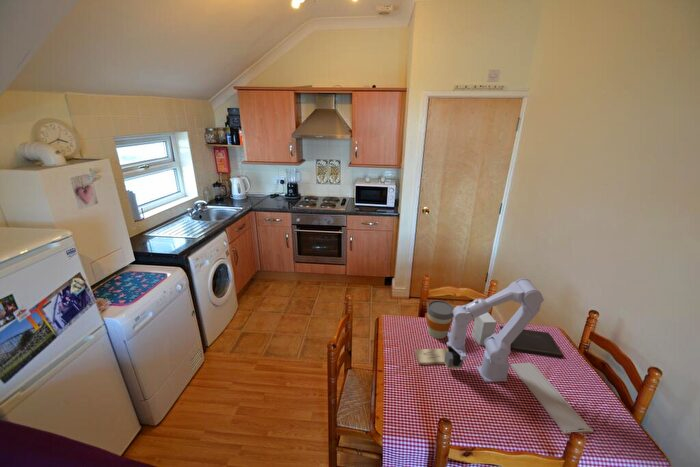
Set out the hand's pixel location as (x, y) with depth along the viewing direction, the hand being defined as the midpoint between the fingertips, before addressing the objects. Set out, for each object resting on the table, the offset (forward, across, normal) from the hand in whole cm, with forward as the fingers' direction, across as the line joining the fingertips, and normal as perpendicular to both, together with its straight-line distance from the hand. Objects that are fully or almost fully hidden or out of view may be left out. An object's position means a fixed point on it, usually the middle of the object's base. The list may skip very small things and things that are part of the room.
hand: (453, 361), depth 125 cm
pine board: (+5, -8, -5) cm, 10 cm away
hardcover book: (+6, -15, +44) cm, 47 cm away
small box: (+5, -18, +22) cm, 29 cm away
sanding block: (+2, 0, 0) cm, 2 cm away
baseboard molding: (+6, +14, +33) cm, 36 cm away
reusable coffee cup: (+5, -24, +2) cm, 25 cm away
